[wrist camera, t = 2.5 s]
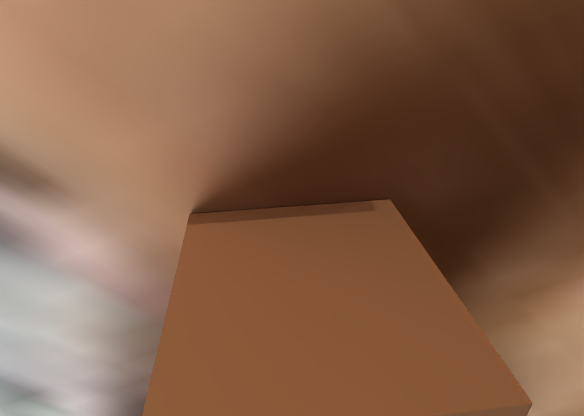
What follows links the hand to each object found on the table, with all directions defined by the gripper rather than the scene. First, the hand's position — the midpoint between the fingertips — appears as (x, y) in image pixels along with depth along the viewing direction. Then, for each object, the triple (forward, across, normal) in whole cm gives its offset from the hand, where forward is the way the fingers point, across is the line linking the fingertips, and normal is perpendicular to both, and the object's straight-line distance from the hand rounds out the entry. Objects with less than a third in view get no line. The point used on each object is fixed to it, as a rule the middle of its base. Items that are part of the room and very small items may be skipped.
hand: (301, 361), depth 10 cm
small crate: (+1, 0, 0) cm, 1 cm away
